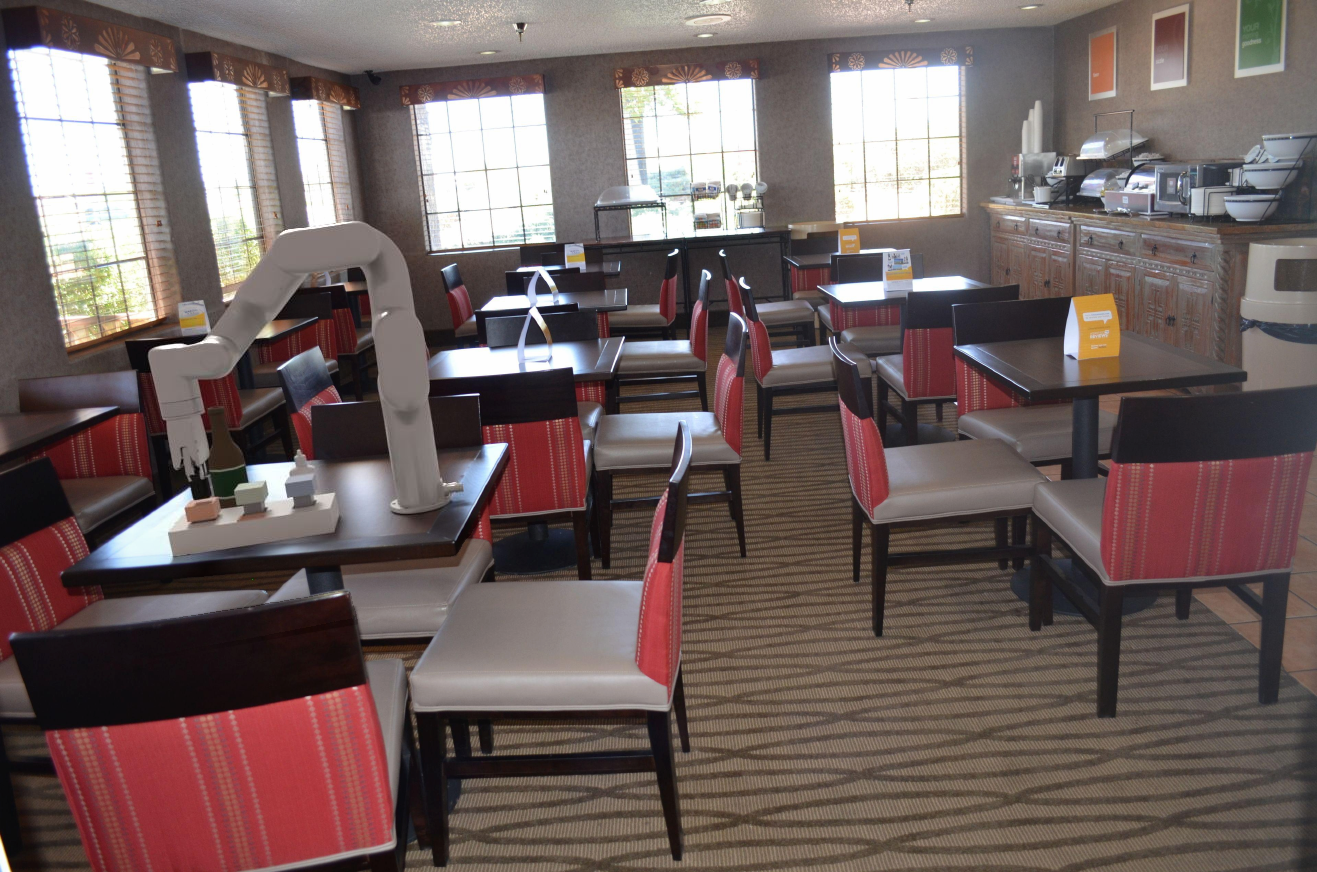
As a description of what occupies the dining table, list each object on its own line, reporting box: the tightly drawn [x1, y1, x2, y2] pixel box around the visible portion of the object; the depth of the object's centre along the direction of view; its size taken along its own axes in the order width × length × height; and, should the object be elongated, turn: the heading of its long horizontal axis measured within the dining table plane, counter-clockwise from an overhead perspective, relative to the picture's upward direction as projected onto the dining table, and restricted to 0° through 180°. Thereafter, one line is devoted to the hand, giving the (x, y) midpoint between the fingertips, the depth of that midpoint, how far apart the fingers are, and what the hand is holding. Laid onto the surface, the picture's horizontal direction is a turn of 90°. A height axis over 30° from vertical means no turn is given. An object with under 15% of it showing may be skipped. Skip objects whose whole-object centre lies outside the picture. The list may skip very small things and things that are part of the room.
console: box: [167, 492, 340, 557], centre depth 193 cm, size 30×12×5 cm, turn 103°
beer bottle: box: [206, 405, 250, 509], centre depth 208 cm, size 8×8×24 cm
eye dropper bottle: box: [288, 449, 321, 496], centre depth 213 cm, size 4×6×12 cm
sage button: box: [234, 480, 269, 515], centre depth 192 cm, size 5×5×8 cm
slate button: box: [284, 473, 317, 509], centre depth 194 cm, size 5×5×8 cm
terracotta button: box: [184, 496, 221, 524], centre depth 190 cm, size 5×5×8 cm
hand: (202, 498), depth 189 cm, fingers closed
